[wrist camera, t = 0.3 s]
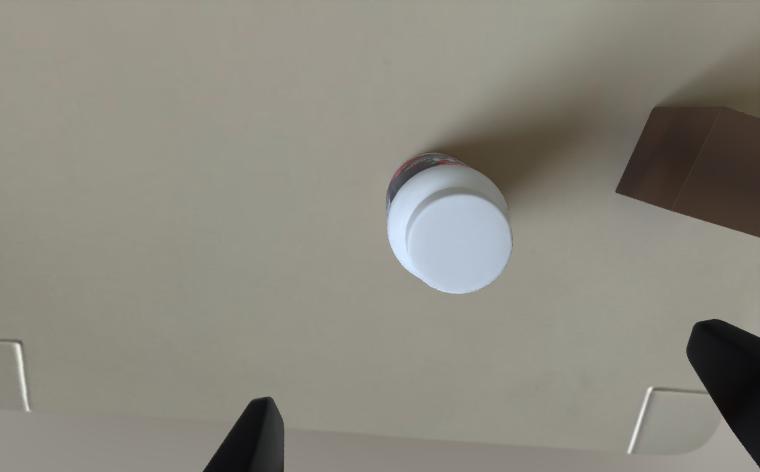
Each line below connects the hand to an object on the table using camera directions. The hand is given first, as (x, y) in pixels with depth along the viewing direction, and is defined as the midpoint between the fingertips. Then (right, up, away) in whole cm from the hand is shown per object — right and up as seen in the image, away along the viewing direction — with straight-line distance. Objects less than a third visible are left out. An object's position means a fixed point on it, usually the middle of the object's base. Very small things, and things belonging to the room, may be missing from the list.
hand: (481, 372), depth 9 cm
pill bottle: (+1, +5, +16) cm, 17 cm away
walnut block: (+15, +7, +16) cm, 23 cm away
